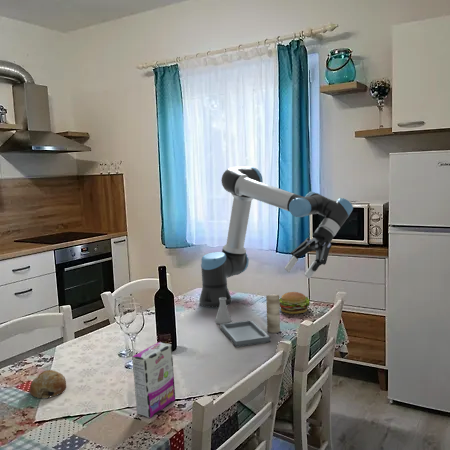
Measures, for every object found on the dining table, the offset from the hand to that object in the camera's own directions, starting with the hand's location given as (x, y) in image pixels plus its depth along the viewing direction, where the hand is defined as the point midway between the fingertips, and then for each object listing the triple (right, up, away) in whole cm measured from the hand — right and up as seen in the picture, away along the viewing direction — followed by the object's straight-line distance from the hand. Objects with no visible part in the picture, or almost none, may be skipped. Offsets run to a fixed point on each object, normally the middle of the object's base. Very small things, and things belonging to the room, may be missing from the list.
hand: (296, 273), depth 184 cm
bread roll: (-81, -31, -44) cm, 97 cm away
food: (+2, -19, +22) cm, 29 cm away
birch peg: (-9, -22, -2) cm, 24 cm away
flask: (-29, -21, +11) cm, 37 cm away
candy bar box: (-47, -31, -56) cm, 79 cm away
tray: (-21, -23, -5) cm, 31 cm away
